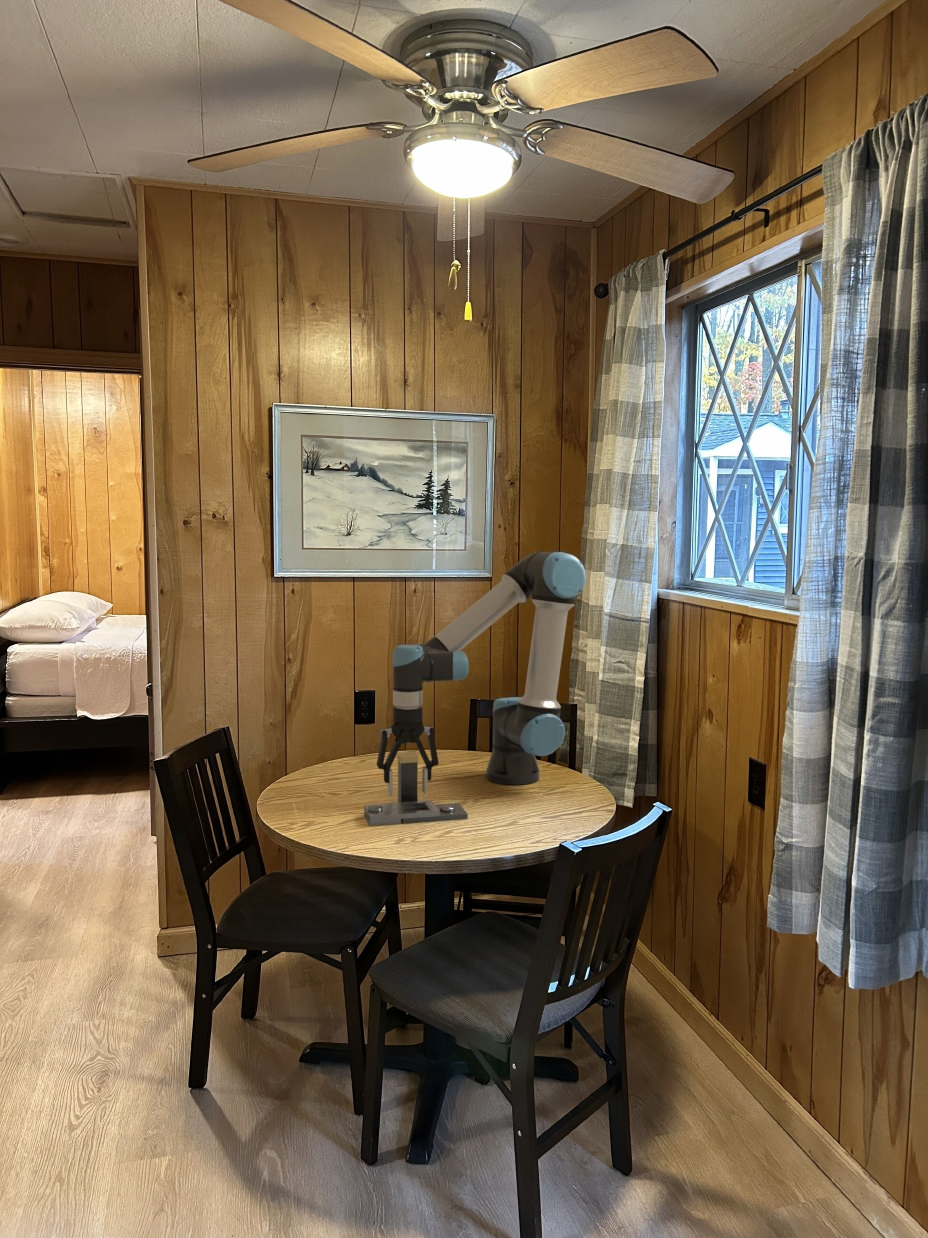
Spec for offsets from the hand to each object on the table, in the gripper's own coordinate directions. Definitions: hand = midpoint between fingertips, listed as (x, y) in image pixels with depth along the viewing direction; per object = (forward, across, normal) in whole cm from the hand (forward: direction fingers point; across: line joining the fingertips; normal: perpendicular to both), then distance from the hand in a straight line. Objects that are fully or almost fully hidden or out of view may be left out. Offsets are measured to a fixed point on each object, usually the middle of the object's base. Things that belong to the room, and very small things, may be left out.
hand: (407, 793), depth 232 cm
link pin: (+3, 0, 0) cm, 3 cm away
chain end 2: (+3, -4, +10) cm, 11 cm away
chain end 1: (+3, +4, +10) cm, 11 cm away
